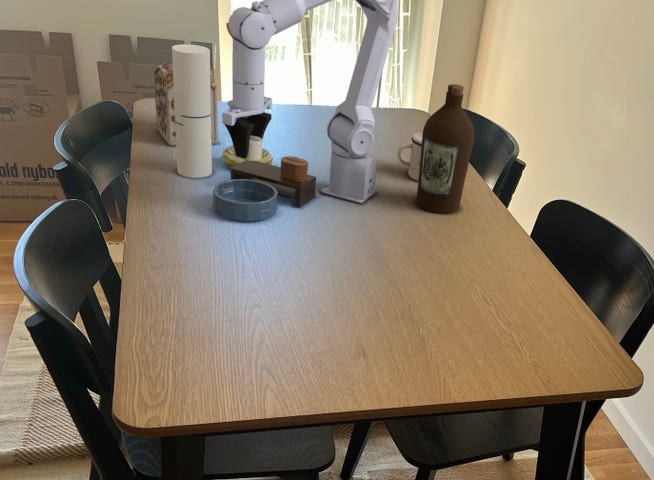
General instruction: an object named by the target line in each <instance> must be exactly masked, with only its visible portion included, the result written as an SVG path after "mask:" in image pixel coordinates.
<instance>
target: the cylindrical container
mask: <svg viewBox="0 0 654 480" xmlns="http://www.w3.org/2000/svg"><path fill="white" fill-rule="evenodd" d="M171 55H172V57H171V58H172V60H171V61H172V62H173V83H174V106H175V128H176V146H175V147H176V148H175V150H176V167H177V168H176V170H177V173H178V174H179V175H180V176H182V177H184V178H185V177H186V178H193V179H199V178H200V179H202V178H206V177H209V176H212V174H213V159H212V158H213V157H212V156H213V155H212V144H211V95H210V70H211V51H210V49H209V47H206V46H202V45H197V44H188V43H187V44H186V43H185V44H184V43H183V44H175V45H172V47H171Z"/></svg>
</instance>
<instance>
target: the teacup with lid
mask: <svg viewBox="0 0 654 480" xmlns="http://www.w3.org/2000/svg"><path fill="white" fill-rule="evenodd" d="M422 134H423V131H419V132H416V133H413V135H412V137H411V144H410V143H404V144H402V145H400V146H399V147H398V149H397V152H396V154H397V159H398V161H399V163H400V164H401V165H403V166H405V167H408V172H407V173H408V176H409V178H411V179H412V180H414V181H416V182H418V180H419V169H420V158H421V146H422ZM404 149H411V150H410V156H409V162H408V161H405V160H403V159H402V155H401V153H402V151H403V150H404Z"/></svg>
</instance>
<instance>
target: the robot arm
mask: <svg viewBox="0 0 654 480" xmlns="http://www.w3.org/2000/svg"><path fill="white" fill-rule="evenodd" d="M332 1H333V0H260V1H258V0H255V1H253V2H252V3H251V6H250V8H249V7H245V6H241V7H238V8H236V9H234V10H233V12H232V13H231V14H230V15H229V18H228V22H226V24H225V26H226V31H227V32H228V34H229V36H230V38H231V39H232V53H231V57H232V59H231V60H232V64H231V65H232V67H231V71H232V74H231V75H232V77H231V78H232V80H231V81H232V83H231V84H232V99H231V100H228V101H227V106H228V108H227V109H226V110H225V111H223V112H222V113H221V114H222V115H221V120H222V121H221V123H222V124H223V125H224V127H225V128H226V130H227V131H228V134H229V137H230V139H231V143H232V145H233V146H234V150H235V154H236V156H237V157H241V158H244V159H245V158H247V156H248V151H249V141H250V137H251V135H252V136H257V137H260V138H261V139H262V140H263V139H264V137H265V132H266V131H267V128H268V126H269V124H270V122H271V120H272V117H273V116H272V114H271V113H270V112H265V111H266V110H272V109H273V98H272V97H267V96H265V76H266V75H265V69H266V65H265V64H266V46H267V45H268V44H269V42H270V41H271V39H272V37H273V36H275V35H277V34H280V33H281V32H283V31H285V30H287V29H289V28H291V27H293V26H296V25H298V24H300V23H302V21H303V20H304V16H305V14H306V12H308V11H310V10H313V9H315V8H318V7H320V6H323V5H324V4H327V3H330V2H332ZM355 2H356V3H358V5H359V6H360V8H361V10H362V11H363V13H364V15H365V17H366V19H367V22H366V25H365V29H364V32H363V36H362V38H361V39H362V40H361V43H360V47H359V51H358V54H357V57H356V60H355V65H354V68H353V72H352V75H351V79H350V82H349V85H348V89H347V94H346V97H345V100H343V101H342V102H341V103H339V104H338V105H337V106H336V108H335V112H334V114H333V116H332V117H330V119H329V121H328V123H327V125H326V134H327V137H328V139H329V140H330V141H331V154H330V166H329V167H330V168H329V182H328V183H329V184H328V185H327V186H326V187H325V188H323V189H321V190H320V191H321V194H325V195H328V196H331V197H336V198H339V199H342V200H347V201H349V202H350V201H351V202H355V203H357V204H363V203H364V202H365V201H366V200H368V199H369V198H370V197H371V196H373V195H374V194H375V193H376V191H377V190H375V189H376V181H377V171H378V162H377V159H376V158H375V157H372V156H371V155H369V153H370V151H371V150H372V149H373V147H374V145H375V144H374V143H375V134H374V132H375V126H376V121H375V117H374V114H373V112H372V107H373V104H374V101H375V98H376V94H377V91H378V87H379V85H380V81H381V77H382V74H383V71H384V67H385V64H386V60H387V57H388V54H389V51H390V48H391V44H392V40H393V37H394V34H395V31H396V27H397V23H398V18H399V13H398V12H399V11H398V0H355Z"/></svg>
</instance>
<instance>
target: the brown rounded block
mask: <svg viewBox="0 0 654 480" xmlns="http://www.w3.org/2000/svg"><path fill="white" fill-rule="evenodd" d="M280 167H281V171H280V177H281V178H283V179H285V180H290V181H293V182H304V181H306V180H307V174H308V171H309V168H308V167H309V161H308V160H307V159H304V158H301V157H300V158H299V157H297V156H292V155H286V156H285V155H284V156H282V157H281V158H280Z"/></svg>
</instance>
